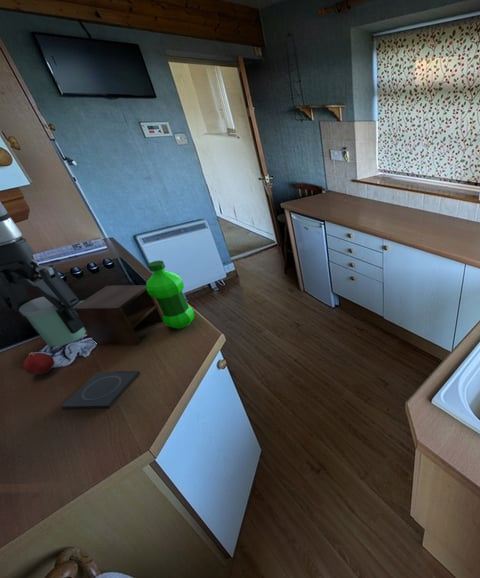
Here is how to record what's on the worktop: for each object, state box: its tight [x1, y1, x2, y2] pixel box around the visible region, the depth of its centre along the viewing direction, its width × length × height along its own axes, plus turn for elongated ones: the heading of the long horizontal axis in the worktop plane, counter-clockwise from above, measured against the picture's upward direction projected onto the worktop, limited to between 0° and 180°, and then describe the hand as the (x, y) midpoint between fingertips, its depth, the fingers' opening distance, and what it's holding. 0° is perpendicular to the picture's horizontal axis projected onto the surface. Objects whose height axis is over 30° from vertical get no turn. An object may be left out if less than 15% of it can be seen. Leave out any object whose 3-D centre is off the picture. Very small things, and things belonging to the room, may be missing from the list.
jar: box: [19, 296, 87, 348], centre depth 70 cm, size 7×7×10 cm
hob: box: [60, 370, 141, 410], centre depth 82 cm, size 12×12×1 cm
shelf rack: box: [73, 284, 163, 346], centre depth 100 cm, size 14×14×15 cm
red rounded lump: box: [22, 352, 55, 375], centre depth 85 cm, size 6×6×8 cm
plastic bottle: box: [145, 260, 195, 330], centre depth 101 cm, size 10×10×25 cm
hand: (61, 330), depth 71 cm, fingers closed on jar, 7 cm apart
